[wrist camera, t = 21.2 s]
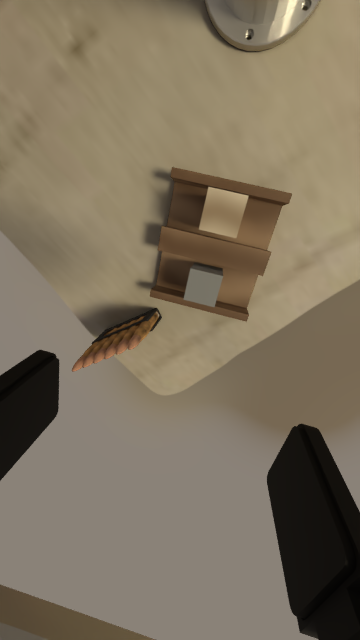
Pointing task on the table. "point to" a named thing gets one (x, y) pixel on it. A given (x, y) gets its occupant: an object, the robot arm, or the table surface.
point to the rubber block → (203, 284)
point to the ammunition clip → (119, 338)
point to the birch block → (223, 212)
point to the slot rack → (216, 242)
